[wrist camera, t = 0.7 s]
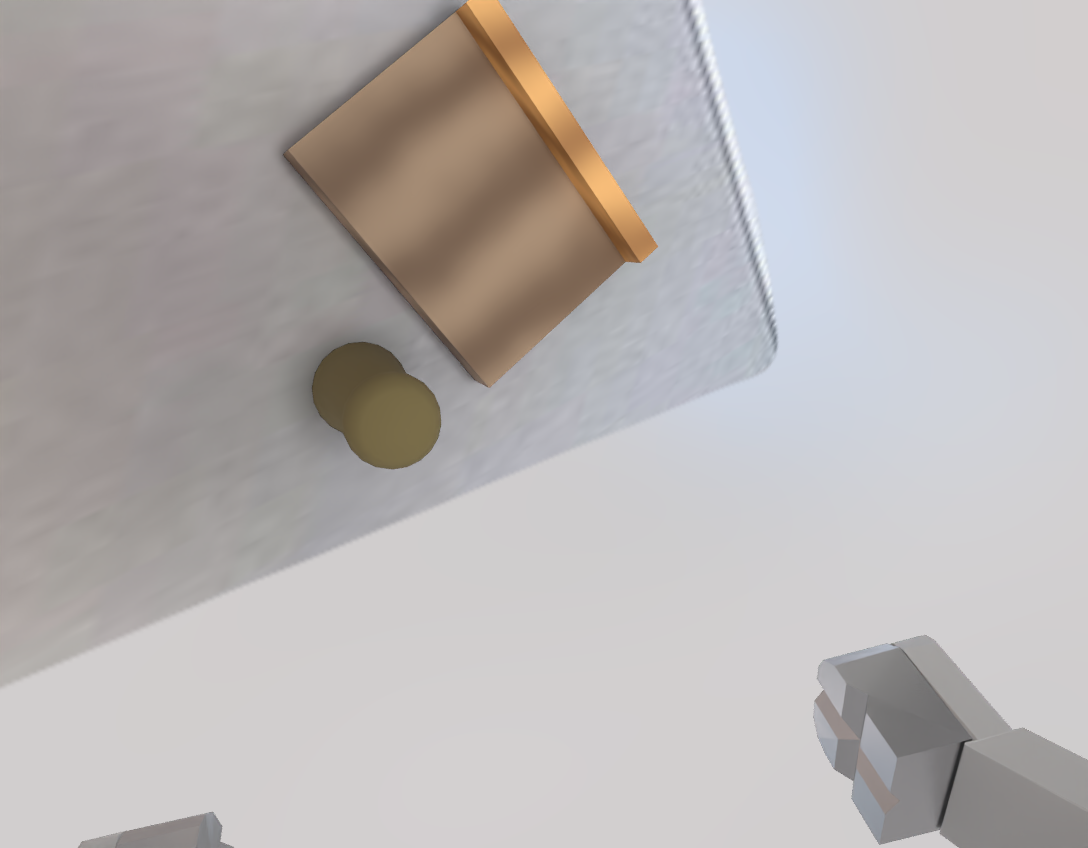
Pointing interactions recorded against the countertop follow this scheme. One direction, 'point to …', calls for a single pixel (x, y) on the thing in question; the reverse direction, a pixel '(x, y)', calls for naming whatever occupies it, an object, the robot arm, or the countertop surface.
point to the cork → (376, 405)
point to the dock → (474, 190)
